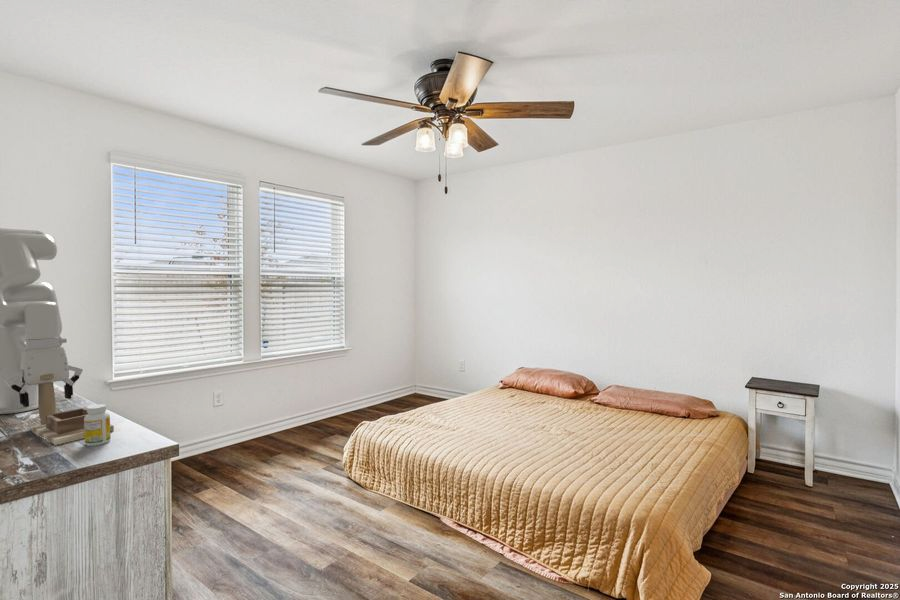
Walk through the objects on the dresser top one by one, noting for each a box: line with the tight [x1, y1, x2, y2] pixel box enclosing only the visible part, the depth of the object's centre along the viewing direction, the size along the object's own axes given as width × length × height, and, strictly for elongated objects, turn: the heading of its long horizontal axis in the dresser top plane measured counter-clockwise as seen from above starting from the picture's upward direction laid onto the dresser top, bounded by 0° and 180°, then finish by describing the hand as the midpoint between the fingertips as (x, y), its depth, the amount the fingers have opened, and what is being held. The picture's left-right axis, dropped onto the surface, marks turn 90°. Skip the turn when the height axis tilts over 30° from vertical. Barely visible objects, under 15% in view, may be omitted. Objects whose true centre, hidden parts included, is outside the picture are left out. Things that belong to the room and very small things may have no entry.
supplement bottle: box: [84, 403, 111, 447], centre depth 119 cm, size 5×5×10 cm
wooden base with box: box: [31, 406, 115, 446], centre depth 127 cm, size 18×13×5 cm
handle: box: [37, 374, 57, 425], centre depth 134 cm, size 5×6×15 cm
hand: (47, 402), depth 134 cm, fingers open, 9 cm apart
